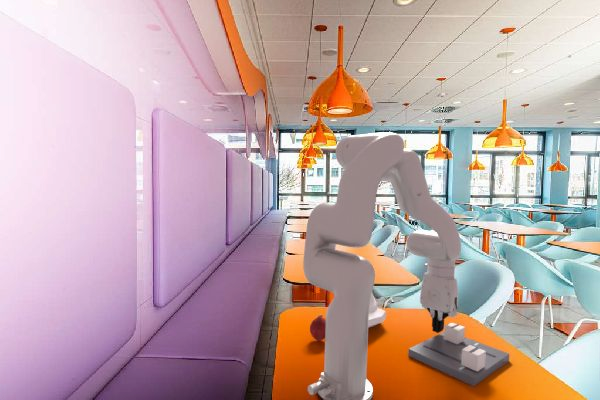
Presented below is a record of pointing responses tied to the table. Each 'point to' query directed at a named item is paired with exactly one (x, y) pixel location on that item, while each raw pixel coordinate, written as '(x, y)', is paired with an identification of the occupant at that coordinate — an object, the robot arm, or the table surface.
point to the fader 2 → (473, 358)
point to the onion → (318, 328)
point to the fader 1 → (454, 333)
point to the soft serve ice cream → (375, 313)
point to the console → (457, 358)
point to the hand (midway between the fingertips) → (437, 330)
